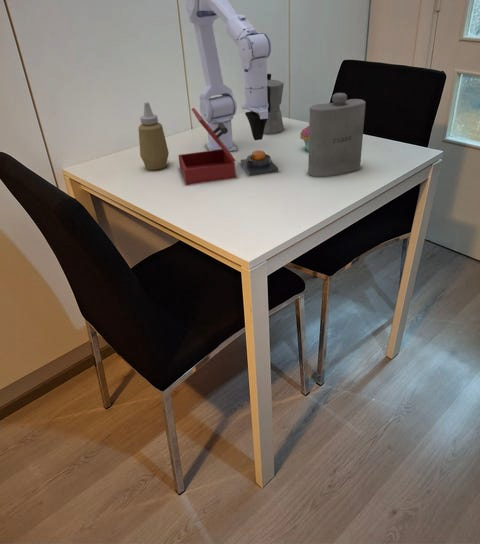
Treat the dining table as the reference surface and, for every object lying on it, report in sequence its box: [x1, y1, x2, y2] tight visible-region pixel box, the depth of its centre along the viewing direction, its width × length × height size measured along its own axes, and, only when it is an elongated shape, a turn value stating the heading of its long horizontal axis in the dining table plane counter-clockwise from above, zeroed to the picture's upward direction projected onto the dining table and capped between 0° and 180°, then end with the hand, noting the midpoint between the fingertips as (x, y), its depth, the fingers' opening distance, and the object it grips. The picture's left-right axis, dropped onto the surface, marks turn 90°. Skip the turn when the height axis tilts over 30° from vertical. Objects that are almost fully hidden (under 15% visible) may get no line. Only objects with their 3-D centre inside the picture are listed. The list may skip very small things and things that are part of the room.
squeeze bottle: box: [138, 101, 170, 171], centre depth 135 cm, size 8×8×18 cm
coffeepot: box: [263, 73, 285, 135], centre depth 158 cm, size 15×9×18 cm, turn 175°
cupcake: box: [299, 125, 309, 152], centre depth 142 cm, size 9×8×12 cm
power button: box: [251, 150, 266, 160], centre depth 133 cm, size 4×4×2 cm
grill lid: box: [191, 107, 236, 163], centre depth 128 cm, size 14×12×4 cm
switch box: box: [240, 153, 279, 177], centre depth 134 cm, size 10×8×3 cm
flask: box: [307, 92, 366, 178], centre depth 125 cm, size 15×6×20 cm, turn 109°
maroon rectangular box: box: [177, 149, 237, 186], centre depth 133 cm, size 13×12×4 cm
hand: (257, 139), depth 131 cm, fingers closed
